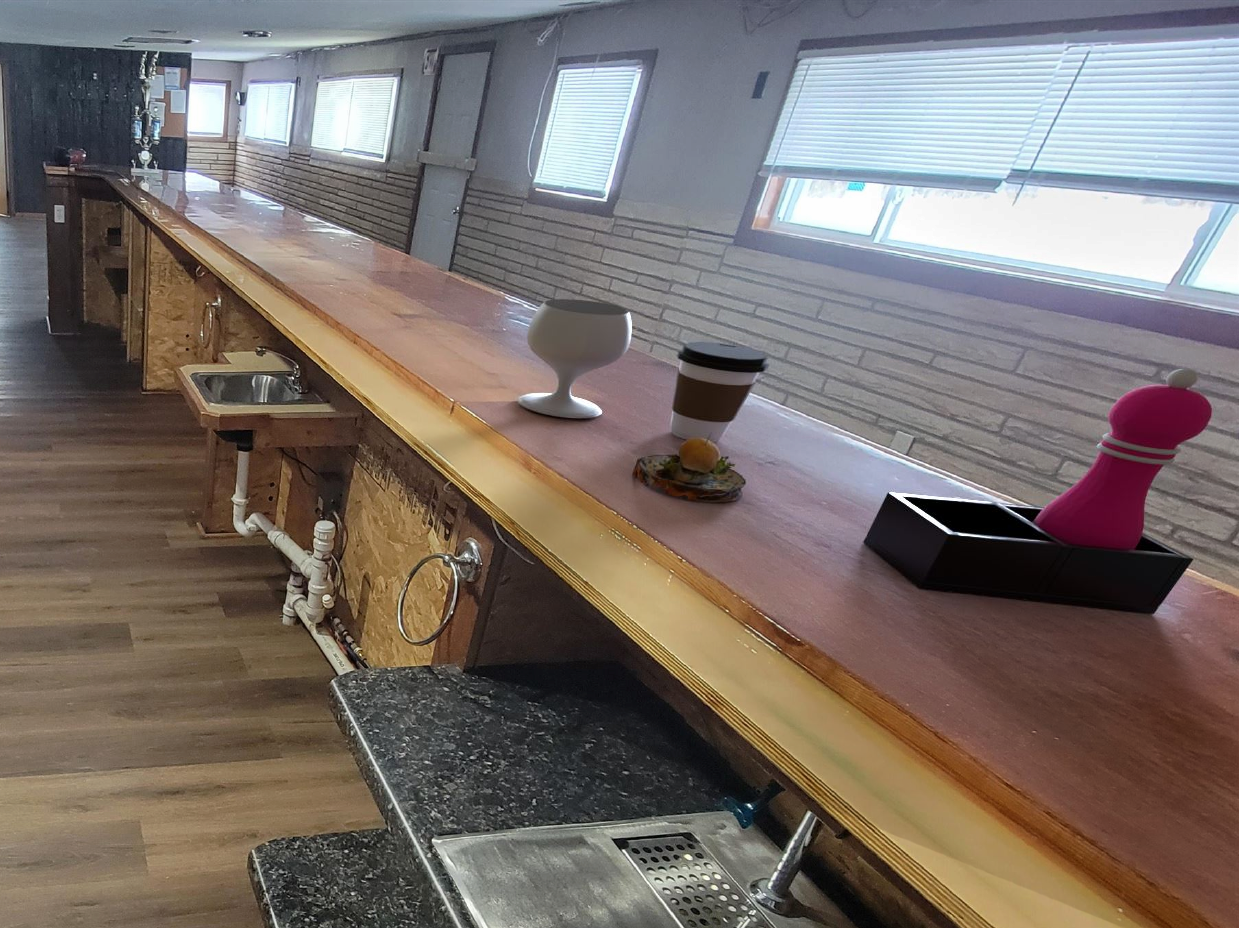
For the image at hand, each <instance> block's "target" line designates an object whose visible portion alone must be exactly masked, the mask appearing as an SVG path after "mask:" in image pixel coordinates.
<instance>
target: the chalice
mask: <svg viewBox="0 0 1239 928" xmlns="http://www.w3.org/2000/svg"><path fill="white" fill-rule="evenodd" d="M632 325H633V324H632V317H631V313H630V311H629V310H628V309H626V308H625V307H622V306H619V305H615V304H611V303H606V302H600V301H592V300H584V299H572V298H570V299H569V298H557V299H547V300H545V301H543V303H542V304H541V305H540V306H539V307H538V308H537V310H536V312H535V313H534V315H533V317H532V319H531V321H530V323H529V326H528V329H527V335H526V343H527V345H528V347H529V349H530V350H531V352H532V353H533V354H534V355H536V356H537V357H538V358H539V359H540V360H542V361H543V362H544V363H545V364H547V365H548V366H549V367H550V368H551V369H552V370H553V371H554V373H555V374H556V377H557V380H558V385H557V387H556V389H555V390H554V391H553V392H552V393H549V392H537V393H536V392H534V393H533V392H531V393H526V394H523V395H521V396H519V397H518V398H517V403H518V404H519V405H520V406H522V407H524V408H525V409H528V410H531V411H532V412H535V413H539V414H543V415H549V416H552V417H559V418H567V419H590V418H596V417H600V416H601V415H602V414H603V411H602V409H601V408H600V406H598V405H597V404H595V403H594V402H591V401H588V400H586V399H583V398H579V397H574V396H573V395H572V392H571V390H572V389H571V388H572V385H573V383H574V382H575V381H576V380H577V379H578V378H579V377H581V376H582V375H584V374H586V373H589V372H591V371H594V370H597V369H599V368H603V367H605V366H609V365H611V364H613V363H615V362H617V361H619V360H620V359H621V358H622V357H623V356H624V355H625V354H626V352H627V351H628V350H629V347H630V344H631V339H632V331H633V330H632V328H633V327H632Z"/></svg>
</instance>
